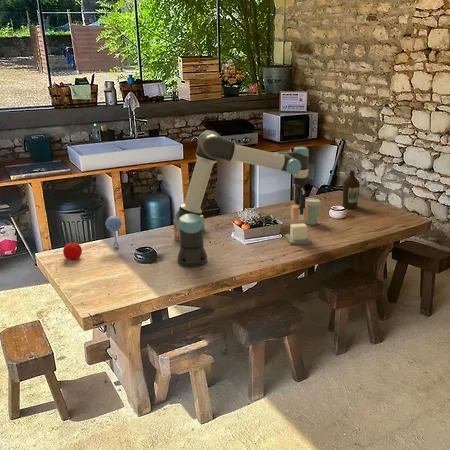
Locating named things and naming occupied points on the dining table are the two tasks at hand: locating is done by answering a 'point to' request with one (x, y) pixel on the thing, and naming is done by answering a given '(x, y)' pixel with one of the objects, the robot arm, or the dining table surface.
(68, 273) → the dining table surface
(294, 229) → the cream brick
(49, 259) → the dining table surface
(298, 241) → the slate pad
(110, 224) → the baby rattle
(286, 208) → the dining table surface
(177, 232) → the printed cardboard box
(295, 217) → the terracotta brick
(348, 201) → the olive oil
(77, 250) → the tomato
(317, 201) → the disposable coffee cup
